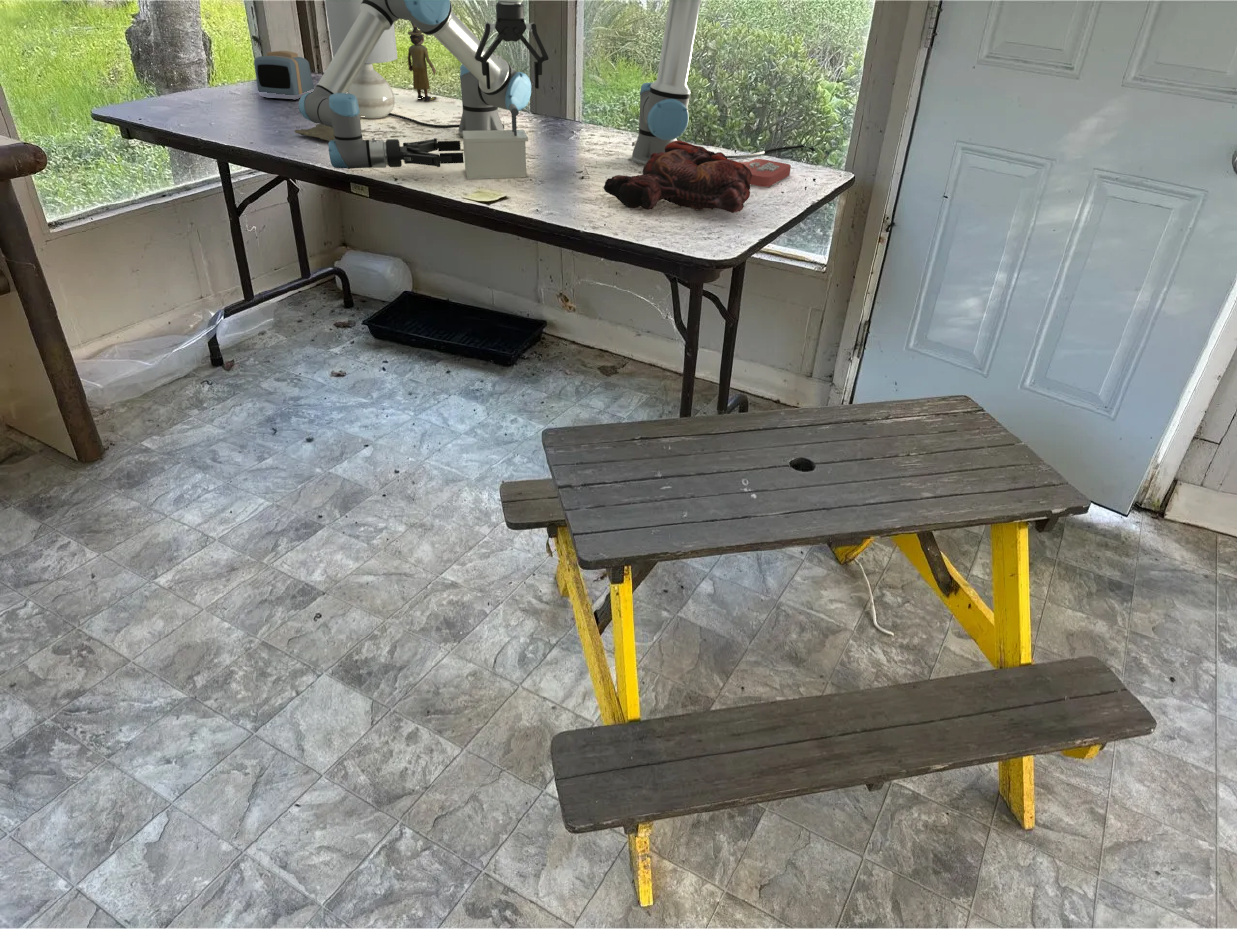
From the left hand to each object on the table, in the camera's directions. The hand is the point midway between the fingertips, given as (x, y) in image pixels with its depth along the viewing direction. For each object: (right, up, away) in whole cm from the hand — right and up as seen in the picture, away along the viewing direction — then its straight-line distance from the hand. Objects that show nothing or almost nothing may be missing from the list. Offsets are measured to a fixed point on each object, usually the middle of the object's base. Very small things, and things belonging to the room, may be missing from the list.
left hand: (461, 151), depth 245 cm
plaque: (+87, -4, +10) cm, 88 cm away
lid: (+10, +4, 0) cm, 10 cm away
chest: (+9, -5, +6) cm, 11 cm away
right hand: (+16, +16, -6) cm, 23 cm away
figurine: (-31, +52, +87) cm, 106 cm away
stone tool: (-49, +16, +33) cm, 61 cm away
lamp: (-44, +35, +61) cm, 83 cm away
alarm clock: (-84, +53, +85) cm, 130 cm away
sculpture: (+61, -20, -15) cm, 66 cm away
